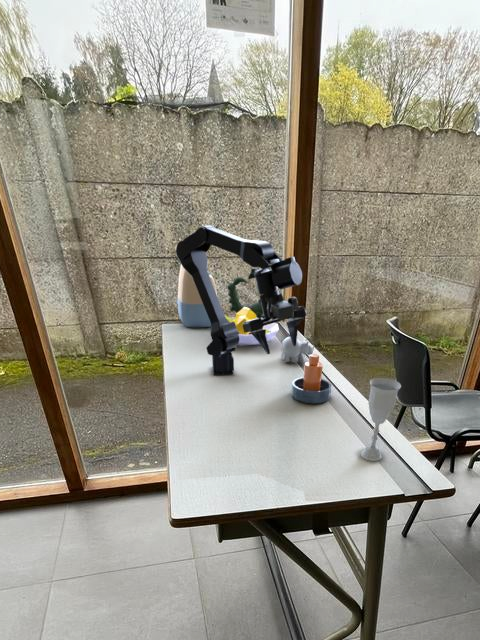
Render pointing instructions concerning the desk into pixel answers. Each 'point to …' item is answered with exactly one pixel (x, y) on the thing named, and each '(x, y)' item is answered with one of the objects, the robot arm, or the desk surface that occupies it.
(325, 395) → the bowl
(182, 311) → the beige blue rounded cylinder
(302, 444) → the desk surface
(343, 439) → the desk surface
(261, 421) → the desk surface
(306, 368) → the orange bottle
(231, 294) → the toy figurine
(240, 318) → the fruit bowl
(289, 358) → the round bodied animal figurine
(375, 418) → the chalice
